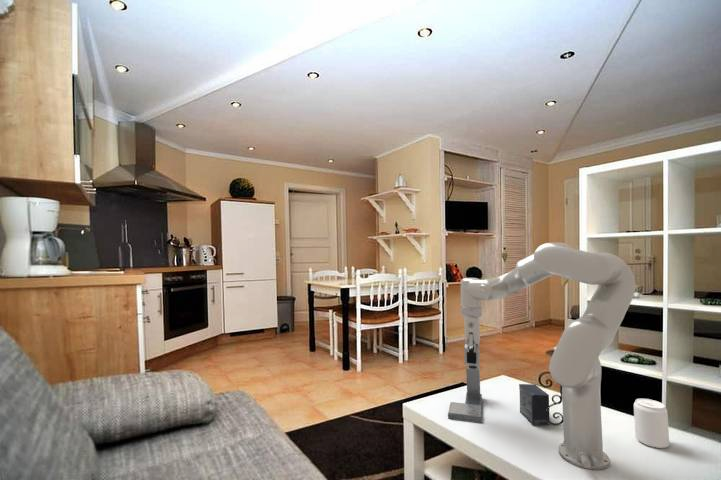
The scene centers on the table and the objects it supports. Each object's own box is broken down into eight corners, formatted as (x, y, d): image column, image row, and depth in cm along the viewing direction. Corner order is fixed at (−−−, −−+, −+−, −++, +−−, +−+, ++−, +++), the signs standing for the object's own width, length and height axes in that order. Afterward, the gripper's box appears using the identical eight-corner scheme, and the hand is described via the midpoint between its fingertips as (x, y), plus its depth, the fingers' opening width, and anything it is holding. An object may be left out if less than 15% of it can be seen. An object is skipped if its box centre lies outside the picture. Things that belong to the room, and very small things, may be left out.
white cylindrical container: (656, 451, 103) (654, 410, 104) (629, 438, 111) (627, 399, 112) (676, 447, 106) (673, 406, 106) (647, 434, 113) (645, 396, 114)
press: (481, 423, 123) (480, 385, 123) (448, 418, 127) (447, 382, 127) (481, 397, 144) (480, 365, 145) (453, 394, 148) (452, 363, 148)
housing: (479, 365, 126) (478, 345, 126) (464, 364, 128) (464, 344, 128) (479, 361, 131) (479, 342, 131) (465, 360, 132) (465, 341, 133)
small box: (551, 425, 120) (550, 394, 121) (532, 425, 120) (531, 394, 121) (536, 411, 131) (535, 383, 131) (519, 412, 131) (518, 383, 131)
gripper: (481, 316, 120) (482, 369, 120) (482, 308, 136) (482, 355, 136) (459, 314, 123) (459, 367, 123) (462, 307, 139) (462, 353, 139)
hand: (471, 360), depth 129 cm, fingers closed on housing, 5 cm apart
